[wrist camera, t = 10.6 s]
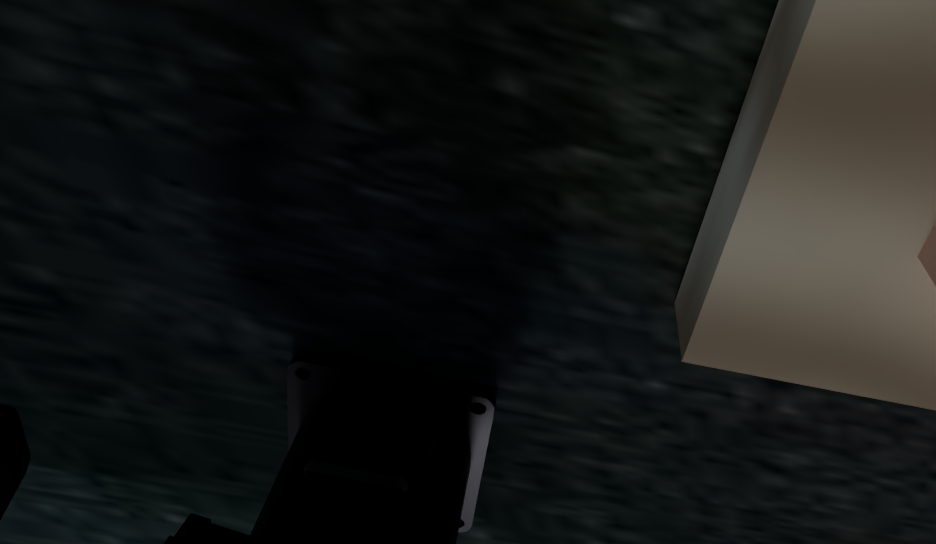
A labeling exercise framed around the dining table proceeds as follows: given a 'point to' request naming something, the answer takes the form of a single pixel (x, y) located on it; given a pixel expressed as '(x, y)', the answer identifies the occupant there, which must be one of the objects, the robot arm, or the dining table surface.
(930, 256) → the terracotta block
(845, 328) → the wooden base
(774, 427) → the dining table surface
